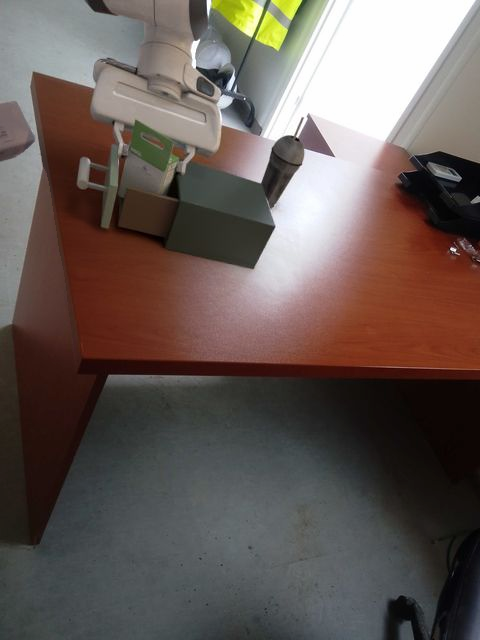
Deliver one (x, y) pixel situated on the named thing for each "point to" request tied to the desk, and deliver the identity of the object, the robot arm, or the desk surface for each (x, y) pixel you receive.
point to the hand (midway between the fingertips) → (151, 166)
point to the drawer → (131, 200)
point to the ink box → (148, 162)
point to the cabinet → (220, 217)
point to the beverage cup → (282, 166)
